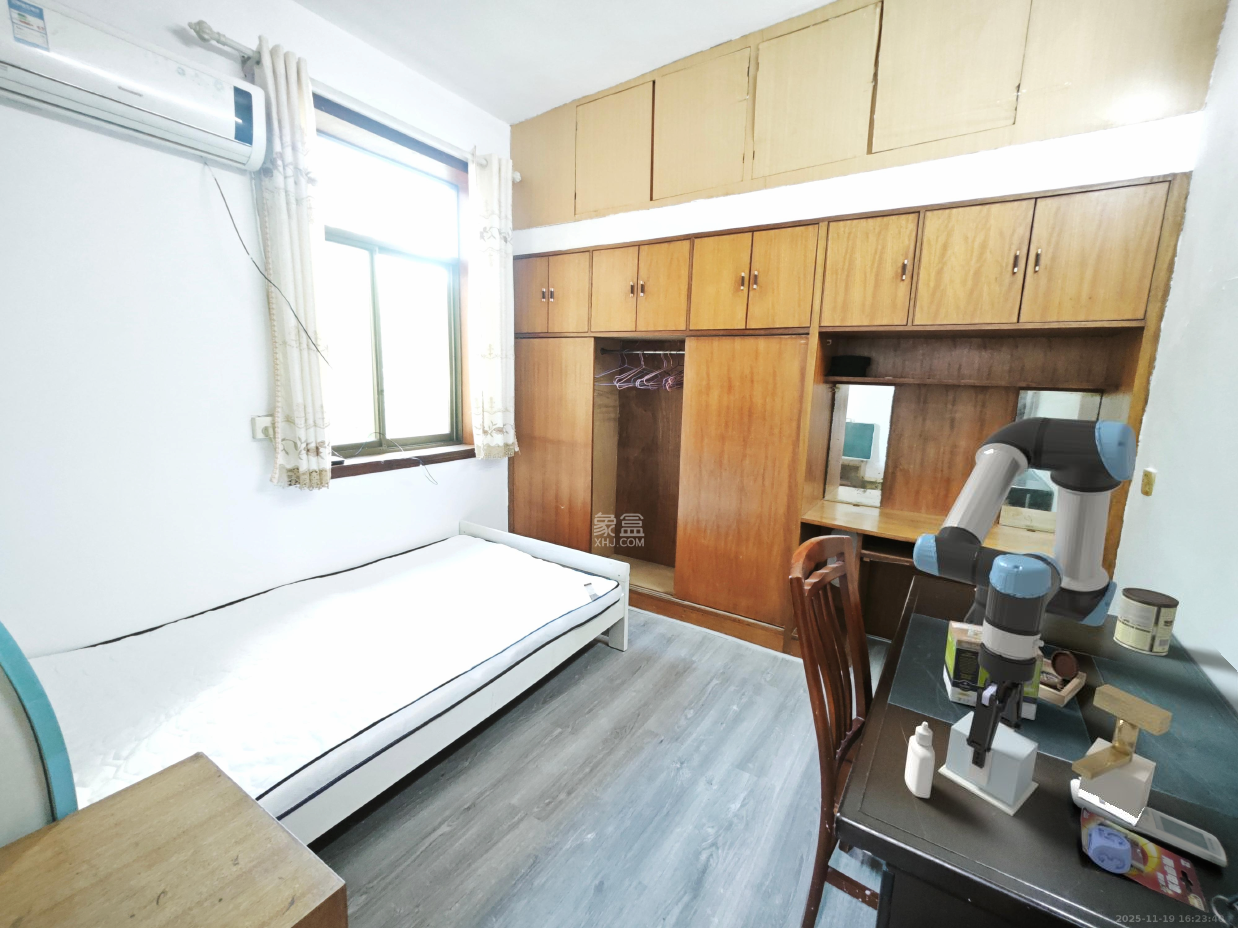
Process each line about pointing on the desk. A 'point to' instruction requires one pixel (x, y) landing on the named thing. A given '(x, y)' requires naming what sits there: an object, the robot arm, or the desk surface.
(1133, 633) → the coffee can
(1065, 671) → the compass
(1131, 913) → the desk surface
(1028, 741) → the cover
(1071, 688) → the beige square frame
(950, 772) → the mat
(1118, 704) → the gold angular piece
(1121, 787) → the white rectangular box
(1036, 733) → the desk surface
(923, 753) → the eye dropper bottle
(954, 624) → the tea box
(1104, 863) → the decorative dice
